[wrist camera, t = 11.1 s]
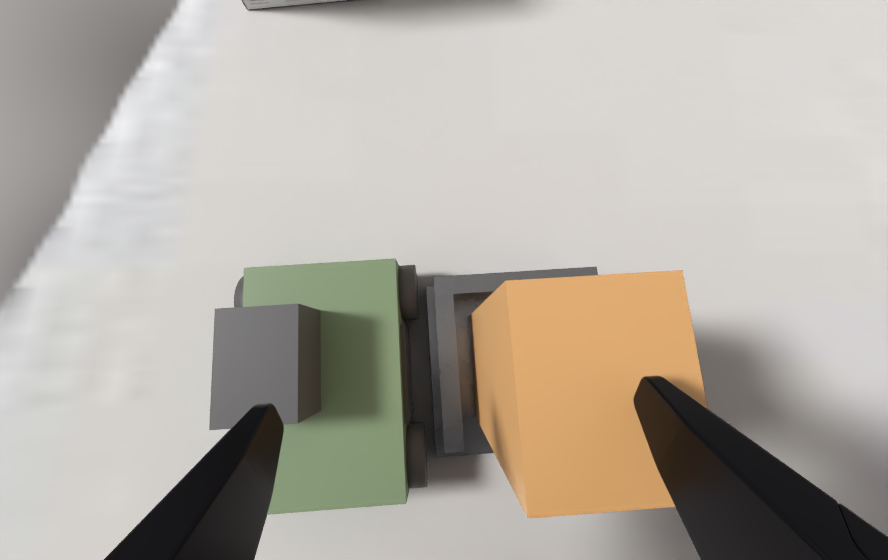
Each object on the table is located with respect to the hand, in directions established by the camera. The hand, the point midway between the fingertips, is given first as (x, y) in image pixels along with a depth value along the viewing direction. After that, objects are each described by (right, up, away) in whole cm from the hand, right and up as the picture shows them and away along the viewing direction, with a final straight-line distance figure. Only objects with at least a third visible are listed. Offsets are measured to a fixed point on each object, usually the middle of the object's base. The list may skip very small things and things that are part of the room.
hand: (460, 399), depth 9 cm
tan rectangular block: (+4, -2, +13) cm, 14 cm away
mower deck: (-7, -3, +13) cm, 15 cm away
